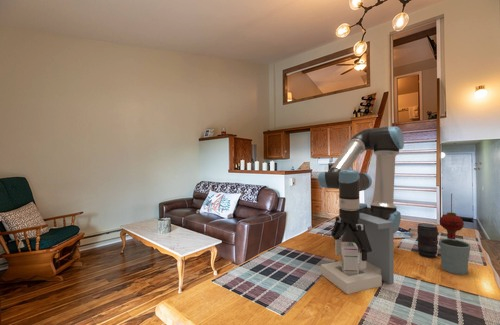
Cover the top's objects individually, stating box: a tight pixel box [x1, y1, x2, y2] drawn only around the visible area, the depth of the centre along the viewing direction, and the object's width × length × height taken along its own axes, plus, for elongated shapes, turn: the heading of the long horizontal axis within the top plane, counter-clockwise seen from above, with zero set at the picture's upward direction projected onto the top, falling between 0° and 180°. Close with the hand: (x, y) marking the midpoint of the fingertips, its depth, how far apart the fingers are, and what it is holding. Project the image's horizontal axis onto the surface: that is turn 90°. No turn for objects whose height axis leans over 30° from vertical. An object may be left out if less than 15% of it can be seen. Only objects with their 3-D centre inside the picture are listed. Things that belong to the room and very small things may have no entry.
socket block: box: [320, 213, 395, 295], centre depth 98 cm, size 16×22×24 cm
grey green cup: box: [438, 238, 471, 276], centre depth 103 cm, size 10×10×12 cm
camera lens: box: [416, 222, 439, 259], centre depth 119 cm, size 8×8×15 cm
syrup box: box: [340, 242, 359, 276], centre depth 97 cm, size 6×6×14 cm
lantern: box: [439, 193, 464, 240], centre depth 121 cm, size 10×10×30 cm
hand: (349, 261), depth 97 cm, fingers open, 13 cm apart
